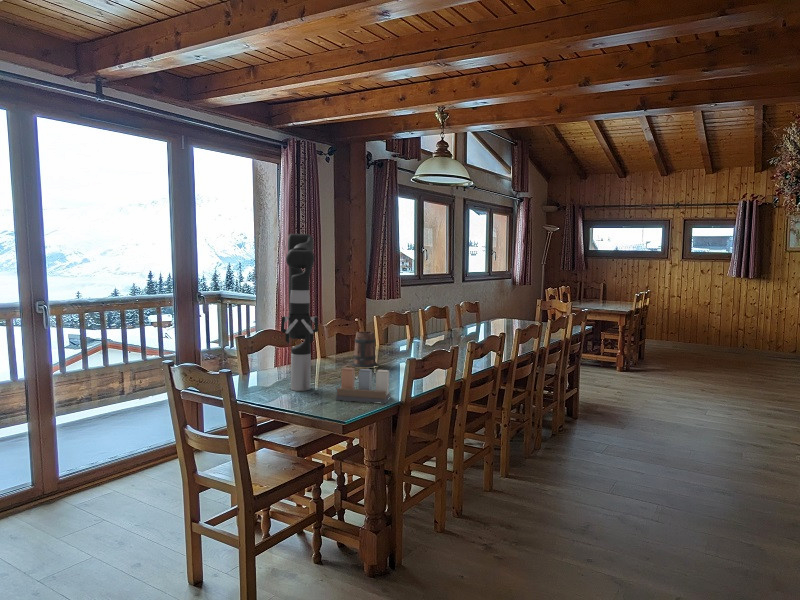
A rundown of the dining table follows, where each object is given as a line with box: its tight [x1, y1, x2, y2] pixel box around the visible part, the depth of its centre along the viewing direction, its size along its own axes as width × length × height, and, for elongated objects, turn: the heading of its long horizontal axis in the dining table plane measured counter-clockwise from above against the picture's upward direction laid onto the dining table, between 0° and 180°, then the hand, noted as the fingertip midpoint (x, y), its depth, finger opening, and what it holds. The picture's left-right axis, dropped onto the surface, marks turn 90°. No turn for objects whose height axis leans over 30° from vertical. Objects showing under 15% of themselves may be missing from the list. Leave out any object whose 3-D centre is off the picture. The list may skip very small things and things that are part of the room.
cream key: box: [375, 369, 390, 396], centre depth 244 cm, size 4×5×11 cm
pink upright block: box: [340, 367, 356, 389], centre depth 247 cm, size 4×5×11 cm
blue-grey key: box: [358, 369, 373, 390], centre depth 245 cm, size 4×5×11 cm
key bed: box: [335, 387, 391, 404], centre depth 244 cm, size 12×22×5 cm, turn 79°
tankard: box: [350, 331, 378, 367], centre depth 314 cm, size 24×17×20 cm
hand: (299, 342), depth 213 cm, fingers open, 8 cm apart
